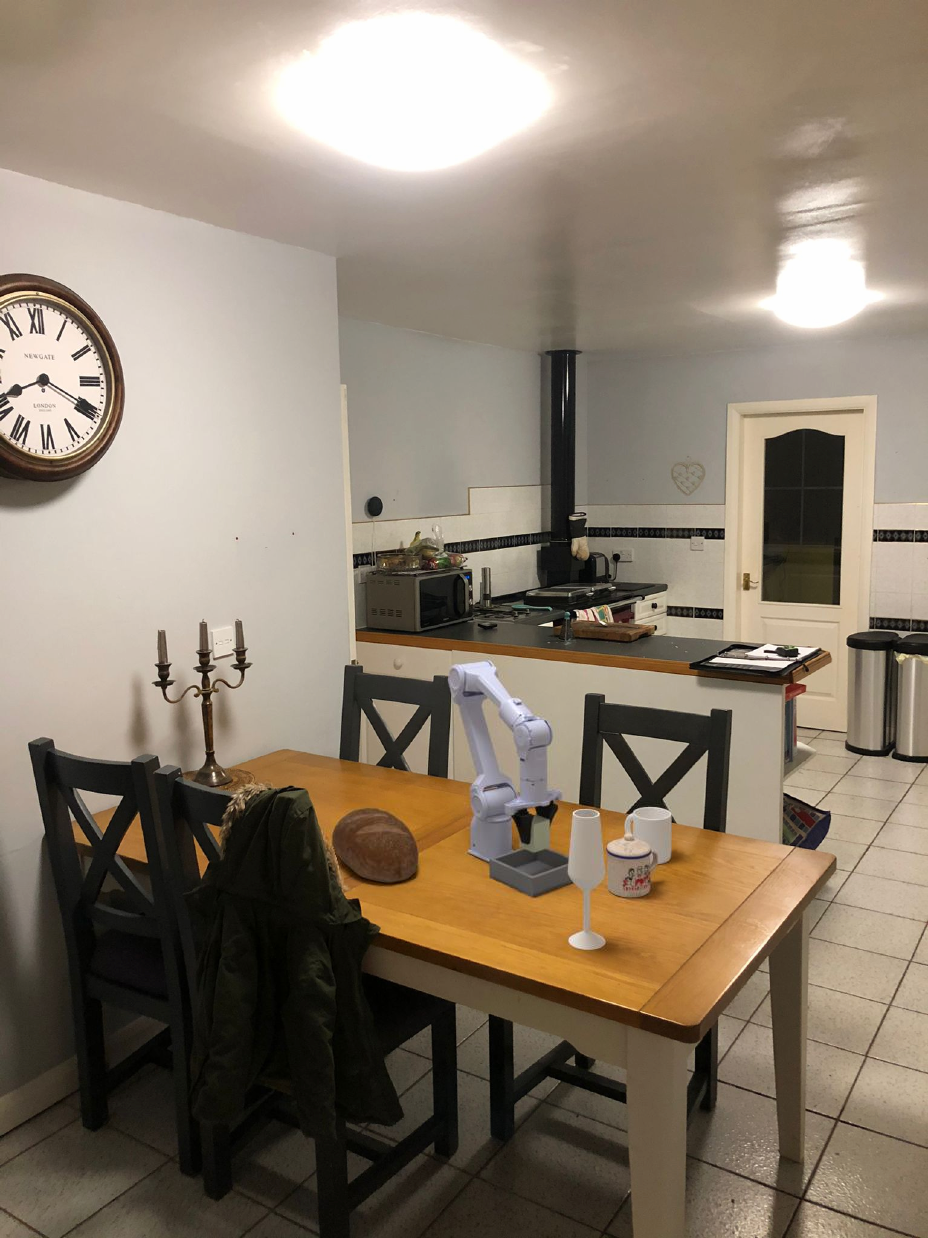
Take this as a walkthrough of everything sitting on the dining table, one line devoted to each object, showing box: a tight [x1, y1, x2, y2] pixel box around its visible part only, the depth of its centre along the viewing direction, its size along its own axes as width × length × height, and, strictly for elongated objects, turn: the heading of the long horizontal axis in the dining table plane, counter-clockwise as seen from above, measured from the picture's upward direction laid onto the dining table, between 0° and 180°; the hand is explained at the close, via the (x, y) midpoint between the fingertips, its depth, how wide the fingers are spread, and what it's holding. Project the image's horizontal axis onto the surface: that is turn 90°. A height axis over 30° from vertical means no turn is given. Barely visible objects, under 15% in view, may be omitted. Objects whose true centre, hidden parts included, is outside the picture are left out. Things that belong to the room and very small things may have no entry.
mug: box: [624, 806, 672, 865], centre depth 211 cm, size 12×8×10 cm
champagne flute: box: [568, 808, 606, 951], centre depth 171 cm, size 7×7×24 cm
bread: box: [331, 807, 419, 884], centre depth 212 cm, size 16×29×11 cm, turn 27°
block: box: [518, 814, 551, 853], centre depth 200 cm, size 4×4×6 cm
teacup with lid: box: [605, 833, 658, 899], centre depth 194 cm, size 12×9×12 cm
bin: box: [488, 847, 574, 898], centre depth 201 cm, size 14×14×4 cm
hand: (534, 840), depth 200 cm, fingers closed on block, 4 cm apart
